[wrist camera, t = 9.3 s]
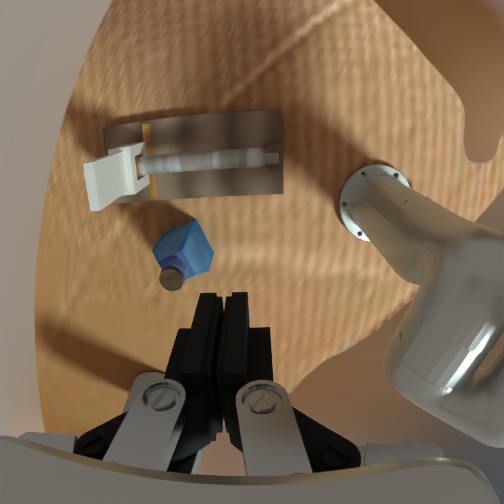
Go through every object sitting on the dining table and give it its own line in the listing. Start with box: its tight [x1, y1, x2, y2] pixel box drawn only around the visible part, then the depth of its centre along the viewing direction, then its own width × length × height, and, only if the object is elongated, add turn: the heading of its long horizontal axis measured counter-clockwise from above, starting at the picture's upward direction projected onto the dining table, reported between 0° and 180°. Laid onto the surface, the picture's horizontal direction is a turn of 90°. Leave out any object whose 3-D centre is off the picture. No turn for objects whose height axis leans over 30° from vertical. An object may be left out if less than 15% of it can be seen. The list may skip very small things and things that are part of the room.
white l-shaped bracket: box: [83, 142, 150, 211], centre depth 35 cm, size 3×6×14 cm, turn 2°
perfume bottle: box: [152, 220, 214, 291], centre depth 45 cm, size 6×6×12 cm
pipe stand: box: [103, 110, 283, 204], centre depth 41 cm, size 26×12×8 cm, turn 92°
